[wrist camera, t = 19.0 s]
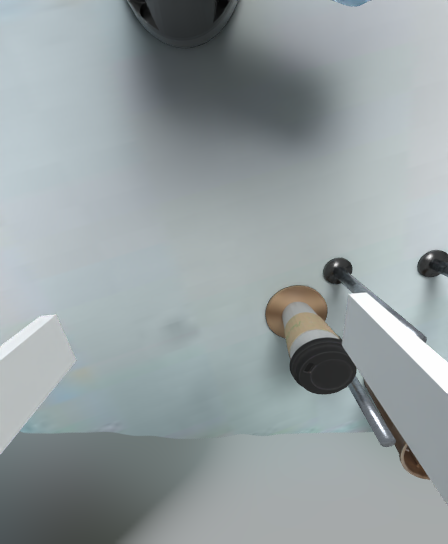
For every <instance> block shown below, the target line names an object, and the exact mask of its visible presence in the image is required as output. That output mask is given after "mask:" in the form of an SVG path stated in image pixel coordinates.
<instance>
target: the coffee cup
mask: <svg viewBox="0 0 448 544" xmlns="http://www.w3.org/2000/svg"><path fill="white" fill-rule="evenodd" d="M282 319H283V324H284V329H285V330H284V331H285V338H286V343H287V348H288V353H289V357H290V359H291V361H290V371H291V374H292V376H293V377H294V379H295V380H296V382H297V383H298V384H300V385H301V386H303V387H304V388H305V389H306V390H308V391H310V392H312V393H316V394H331V393H335V392H338V391H340V390H342V389H344V388H346V387H347V386H348V385H349V384H350V383H351V382H352V381H353V379H354V378H355V375H356V366H355V364H354V363H353V361H352V360H351V358H350V357H349V355H348V354H347V352H346V351H345V349H344V348H343V346H342V340H340V339H339V337H338V336H337V335H336V334H335V332H334V331H333V330H332V329H331V328H330V327H329V326H328V325H327V324H326V322H325V321H324V320H323V319H322V318H321V317H320V316H318V315H317V314H316V313H315V311H314V310H313V309H312V308H311V307H310V306H309V305H308V304H306V303H304V302H293V303H290V304H289V305H287V306H286V308H285V309H284V311H283V314H282Z"/></svg>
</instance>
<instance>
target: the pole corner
mask: <svg viewBox="0 0 448 544" xmlns="http://www.w3.org/2000/svg"><path fill="white" fill-rule="evenodd" d="M323 274H324V277H325V279H326V280H327V281H328V282H330V283H333V284H339V283H342V284H343V285H345V286H346V287H347V288H348V289H349V290H350V291H351V292H352V293H366V292H367V293H368V294H369V295H370V296H371V297H372V298H374V299H375V300H376V301H377V302H378V303H379V304H380V305H382V306H383V307H384V308H385V309H386V310H387V311H389V312H390V313H391V314H392V315H393V316H394V317H396V318H397V319H398V320H399V321H400V322H401V323H402V324H404V325H405V326H406V327H407V328H408V329H409V330H411V331H412V332H413V333H414V334H415V335H416V336H418V337H419V338H420V339H421V340H422V341H423V342H424V343H426V337H425V336H424V335H423V334H422V333H421V332H420V331H418V330H417V329H416V328H415V327H414V326H412V325H411V324H410V323H409V322H408V321H406V320H405V319H404V318H403V317H402V316H400V315H399V314H398V313H397V312H395V311H394V310H393V309H392V308H391V307H389V306H388V305H387V304H386V303H385V302H383V301H382V300H381V299H380V298H379V297H377V296H376V295H375V294H374V293H373V292H371V291H370V290H369V289H368V288H367V287H365V286H364V285H363V284H362V283H360V282H359V281H358V280H357V279H356V278H354V277H353V276H352V275H351V274H352V265H351V263H350V262H349V261H348V260H346V259H344V258H335V259H332V260H331V261H329V262H328V263H327V264H326V265H325V267H324V271H323Z"/></svg>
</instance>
